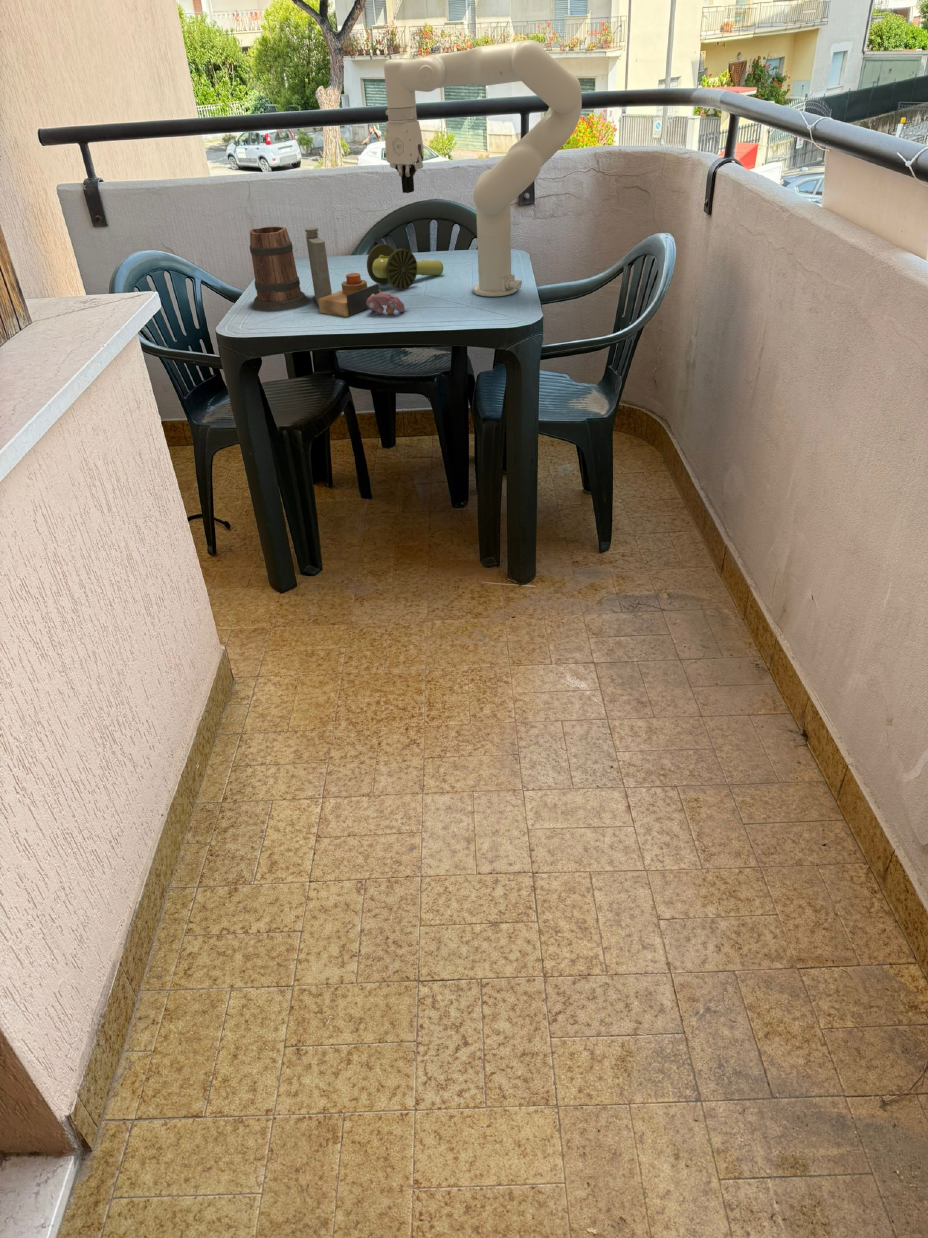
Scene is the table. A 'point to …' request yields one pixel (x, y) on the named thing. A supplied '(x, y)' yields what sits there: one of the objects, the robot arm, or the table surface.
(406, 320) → the table surface
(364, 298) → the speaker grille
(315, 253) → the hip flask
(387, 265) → the cannon
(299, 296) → the tankard
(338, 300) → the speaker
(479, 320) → the table surface
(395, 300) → the pink lumpy mass
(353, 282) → the power button
